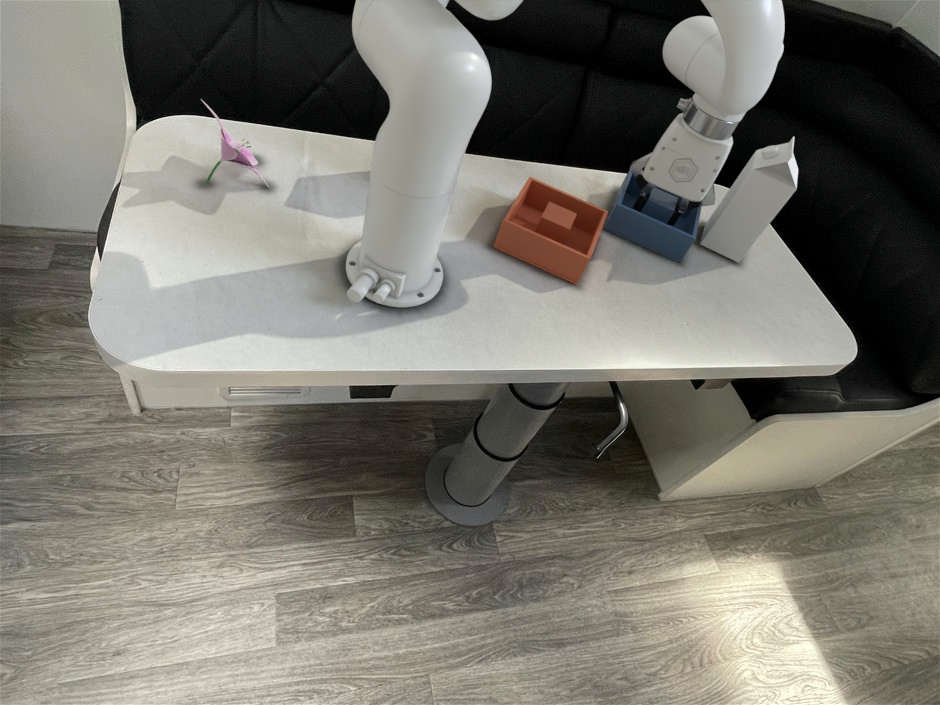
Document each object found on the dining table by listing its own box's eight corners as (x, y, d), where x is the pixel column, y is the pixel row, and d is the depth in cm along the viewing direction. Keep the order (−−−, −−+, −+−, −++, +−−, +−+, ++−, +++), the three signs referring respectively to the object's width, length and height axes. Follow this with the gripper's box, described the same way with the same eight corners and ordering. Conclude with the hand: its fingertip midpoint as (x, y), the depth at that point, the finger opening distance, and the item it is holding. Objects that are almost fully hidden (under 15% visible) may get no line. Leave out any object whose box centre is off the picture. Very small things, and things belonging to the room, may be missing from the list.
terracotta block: (558, 253, 87) (570, 229, 84) (531, 240, 88) (541, 216, 84) (566, 237, 90) (577, 213, 87) (539, 225, 90) (549, 201, 87)
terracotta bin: (576, 285, 84) (590, 259, 81) (493, 247, 85) (502, 220, 81) (595, 236, 93) (608, 211, 89) (519, 202, 94) (529, 176, 90)
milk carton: (742, 242, 103) (816, 146, 89) (738, 264, 98) (815, 166, 84) (704, 224, 103) (772, 126, 89) (698, 245, 99) (768, 145, 85)
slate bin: (679, 262, 94) (695, 239, 90) (603, 229, 95) (616, 204, 91) (688, 220, 103) (703, 197, 99) (618, 190, 104) (631, 166, 100)
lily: (257, 223, 78) (289, 160, 74) (163, 179, 72) (193, 109, 69) (261, 193, 87) (289, 136, 84) (178, 152, 82) (205, 89, 78)
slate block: (661, 233, 97) (674, 211, 93) (635, 222, 97) (648, 199, 94) (664, 219, 100) (677, 197, 96) (640, 208, 100) (652, 186, 96)
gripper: (651, 106, 83) (599, 210, 96) (764, 154, 81) (695, 253, 95) (659, 87, 87) (608, 188, 101) (765, 132, 86) (699, 228, 100)
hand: (651, 219), depth 98 cm, fingers closed on slate block, 4 cm apart
